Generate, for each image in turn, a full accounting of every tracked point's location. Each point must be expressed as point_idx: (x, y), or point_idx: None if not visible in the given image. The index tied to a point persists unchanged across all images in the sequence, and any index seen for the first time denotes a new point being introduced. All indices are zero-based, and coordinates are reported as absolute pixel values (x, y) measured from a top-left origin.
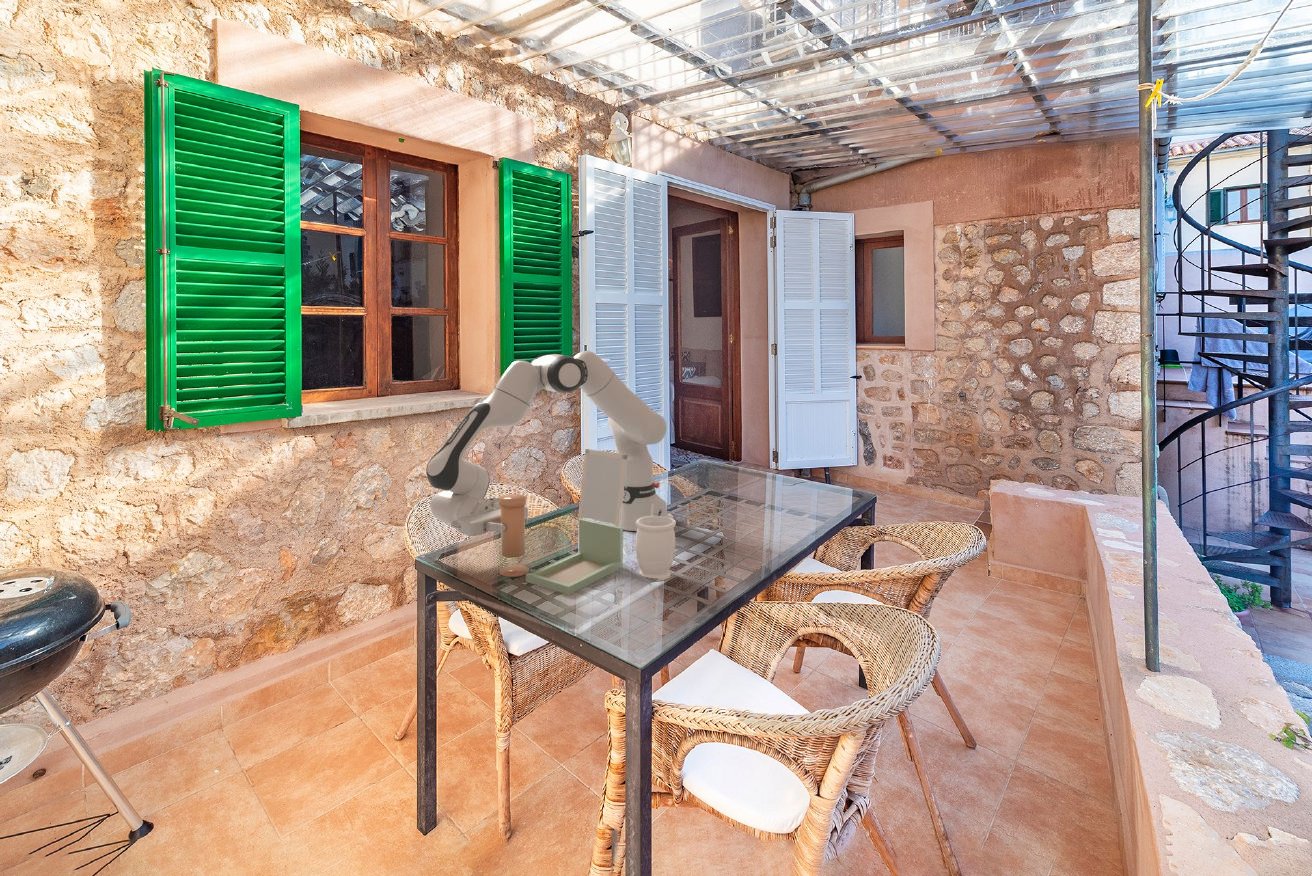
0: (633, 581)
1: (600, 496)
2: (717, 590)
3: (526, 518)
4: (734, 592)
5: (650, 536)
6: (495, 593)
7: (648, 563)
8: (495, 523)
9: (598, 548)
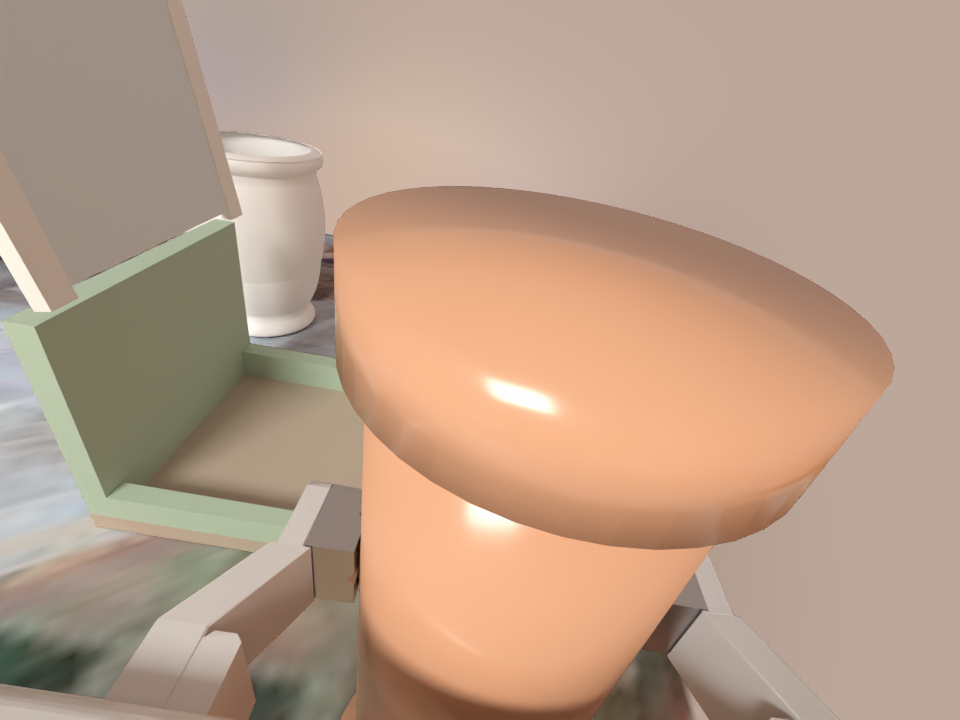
0: (324, 341)
1: (103, 85)
2: (324, 251)
3: (326, 483)
4: (325, 239)
5: (319, 186)
6: (677, 675)
7: (319, 270)
8: (754, 647)
9: (183, 375)
